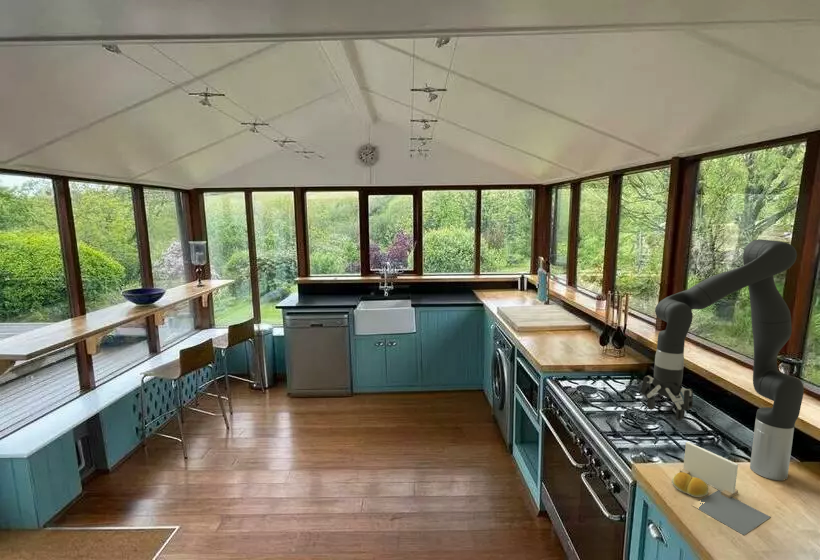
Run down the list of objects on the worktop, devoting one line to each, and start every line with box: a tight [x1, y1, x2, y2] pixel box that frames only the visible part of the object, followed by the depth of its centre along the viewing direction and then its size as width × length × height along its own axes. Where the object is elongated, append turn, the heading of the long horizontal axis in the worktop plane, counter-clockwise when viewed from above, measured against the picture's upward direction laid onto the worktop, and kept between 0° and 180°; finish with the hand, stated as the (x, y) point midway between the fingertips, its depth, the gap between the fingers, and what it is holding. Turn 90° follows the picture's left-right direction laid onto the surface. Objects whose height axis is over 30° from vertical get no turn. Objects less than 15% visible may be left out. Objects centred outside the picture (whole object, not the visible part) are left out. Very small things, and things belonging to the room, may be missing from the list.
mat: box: [698, 489, 771, 536], centre depth 118 cm, size 14×13×1 cm
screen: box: [679, 441, 739, 498], centre depth 129 cm, size 5×14×10 cm, turn 27°
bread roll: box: [671, 471, 709, 498], centre depth 127 cm, size 8×9×4 cm
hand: (664, 414), depth 131 cm, fingers open, 8 cm apart
